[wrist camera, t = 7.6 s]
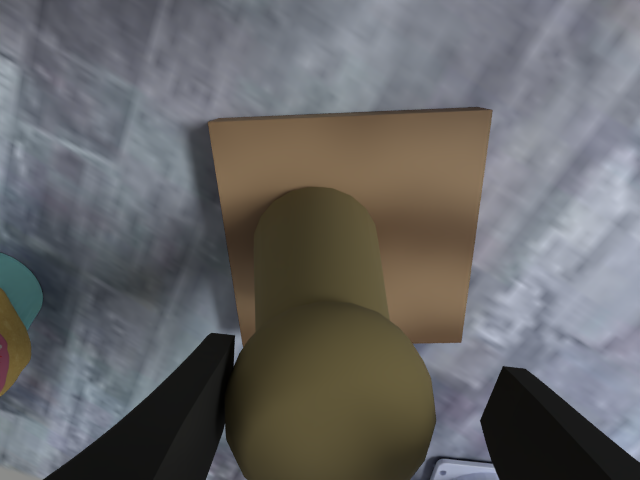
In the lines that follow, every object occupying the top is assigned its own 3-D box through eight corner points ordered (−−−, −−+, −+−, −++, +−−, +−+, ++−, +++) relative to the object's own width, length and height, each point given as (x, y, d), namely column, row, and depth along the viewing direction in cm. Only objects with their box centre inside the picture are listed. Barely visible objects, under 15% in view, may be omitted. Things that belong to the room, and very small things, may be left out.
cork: (230, 266, 18) (142, 507, 8) (294, 160, 16) (281, 304, 6) (334, 318, 20) (368, 574, 10) (403, 227, 18) (538, 430, 8)
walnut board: (447, 315, 22) (461, 342, 20) (251, 320, 23) (242, 346, 21) (471, 105, 18) (492, 109, 15) (223, 116, 18) (207, 122, 16)
